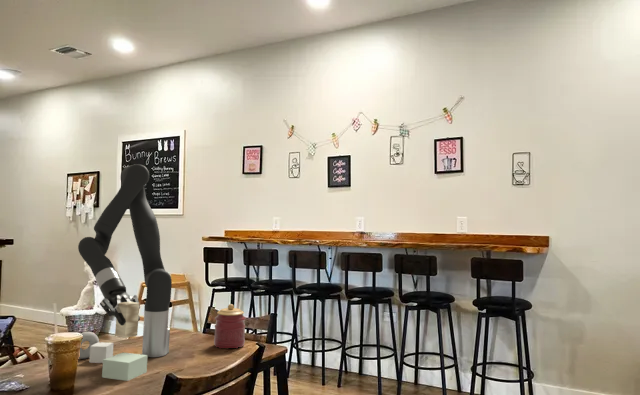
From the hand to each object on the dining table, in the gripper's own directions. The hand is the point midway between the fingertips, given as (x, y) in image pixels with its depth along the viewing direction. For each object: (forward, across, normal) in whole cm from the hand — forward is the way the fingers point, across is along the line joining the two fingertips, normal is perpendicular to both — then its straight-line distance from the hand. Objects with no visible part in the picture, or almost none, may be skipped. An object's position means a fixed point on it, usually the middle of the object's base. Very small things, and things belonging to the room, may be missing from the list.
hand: (130, 322), depth 163 cm
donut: (-8, +4, +34) cm, 35 cm away
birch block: (+2, 0, +5) cm, 5 cm away
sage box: (+12, 0, +14) cm, 18 cm away
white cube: (-3, +6, +29) cm, 30 cm away
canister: (+13, +51, +12) cm, 54 cm away
